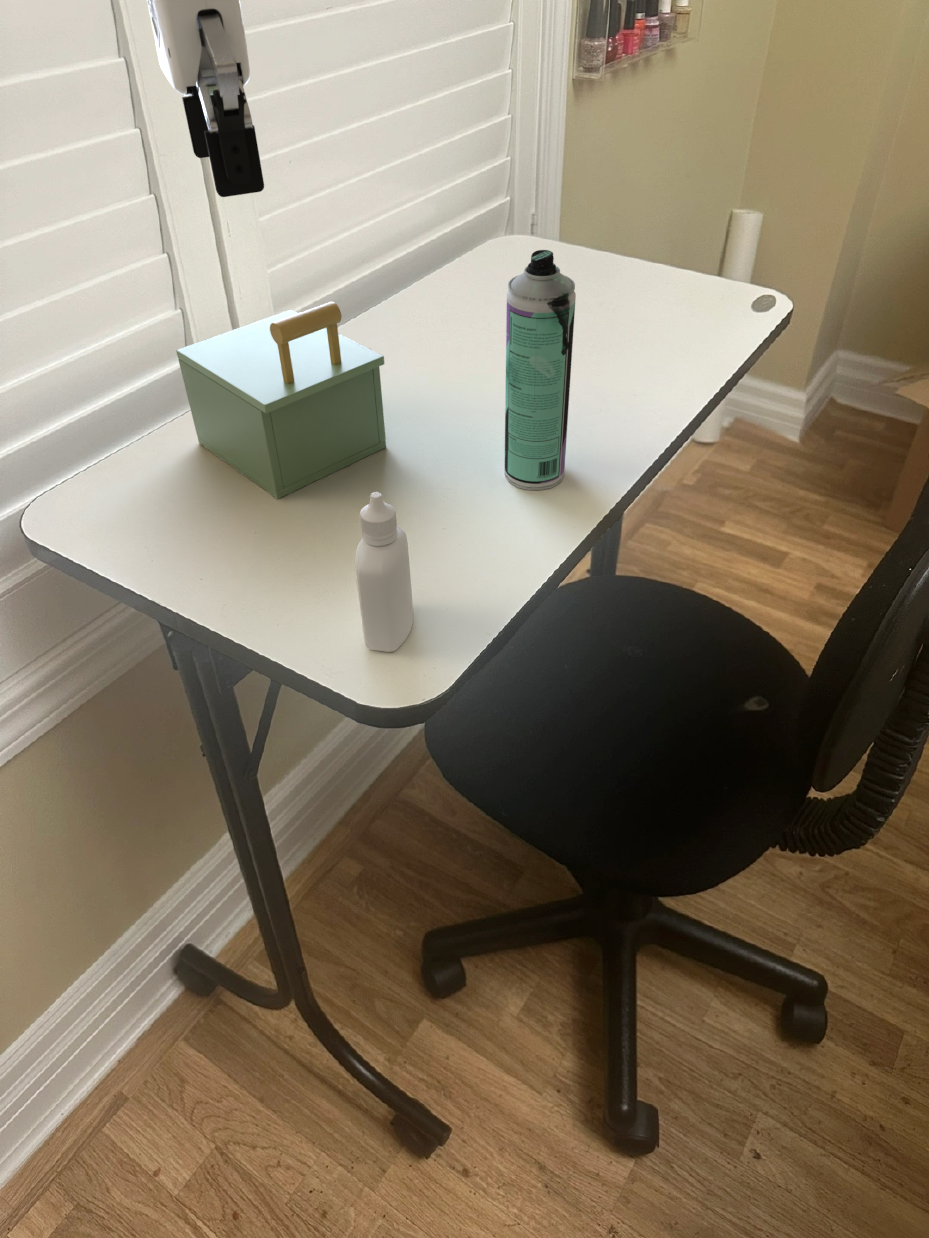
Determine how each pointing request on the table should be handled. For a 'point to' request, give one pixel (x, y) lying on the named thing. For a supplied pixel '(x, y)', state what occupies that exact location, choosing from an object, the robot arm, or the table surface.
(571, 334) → the spray can
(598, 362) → the table surface
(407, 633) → the eye dropper bottle
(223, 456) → the chest
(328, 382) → the lid
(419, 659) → the table surface
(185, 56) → the robot arm
